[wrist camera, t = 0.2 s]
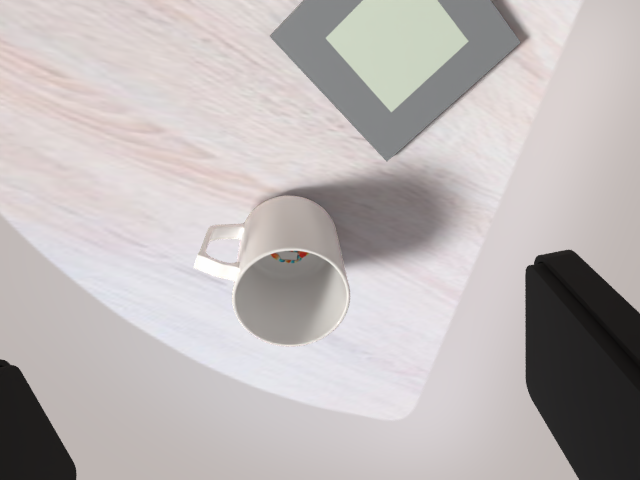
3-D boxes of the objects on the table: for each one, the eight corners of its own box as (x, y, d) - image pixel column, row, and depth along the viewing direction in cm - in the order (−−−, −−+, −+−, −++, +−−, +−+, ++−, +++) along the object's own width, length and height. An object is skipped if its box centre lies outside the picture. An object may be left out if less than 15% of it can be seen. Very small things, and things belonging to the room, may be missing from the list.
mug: (350, 207, 49) (368, 267, 39) (316, 285, 52) (325, 358, 42) (223, 166, 46) (208, 219, 36) (197, 251, 50) (177, 321, 40)
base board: (270, 35, 41) (270, 36, 40) (407, -110, 38) (411, -112, 37) (384, 157, 47) (387, 161, 46) (514, 40, 43) (520, 42, 42)
